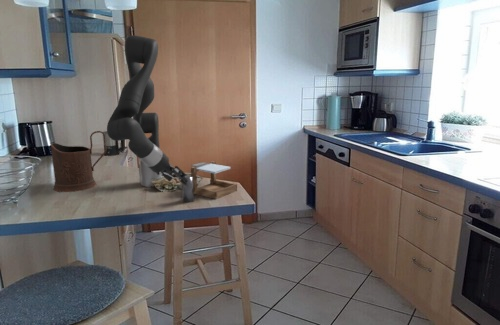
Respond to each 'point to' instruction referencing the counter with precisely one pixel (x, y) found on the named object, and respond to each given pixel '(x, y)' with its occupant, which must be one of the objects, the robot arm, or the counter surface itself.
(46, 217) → the counter surface
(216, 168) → the trapdoor
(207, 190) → the stand
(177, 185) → the rock
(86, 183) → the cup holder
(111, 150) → the milk frother
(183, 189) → the cylinder
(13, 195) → the counter surface
